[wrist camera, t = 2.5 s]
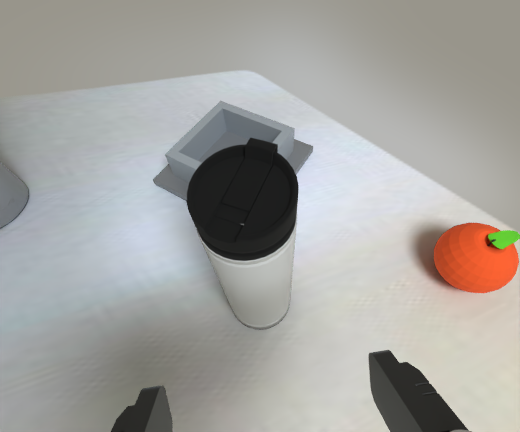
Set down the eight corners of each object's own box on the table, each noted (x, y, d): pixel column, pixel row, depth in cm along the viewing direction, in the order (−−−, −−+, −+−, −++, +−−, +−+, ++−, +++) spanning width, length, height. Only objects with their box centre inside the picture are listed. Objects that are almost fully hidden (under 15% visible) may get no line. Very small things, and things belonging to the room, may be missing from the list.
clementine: (469, 232, 36) (507, 196, 30) (514, 285, 32) (568, 256, 26) (409, 254, 35) (437, 221, 29) (450, 312, 31) (490, 288, 25)
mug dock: (155, 184, 43) (141, 159, 38) (222, 116, 50) (217, 88, 45) (252, 235, 37) (248, 213, 33) (312, 151, 44) (315, 124, 40)
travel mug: (298, 281, 34) (317, 150, 17) (277, 340, 31) (274, 250, 14) (246, 262, 36) (217, 125, 19) (221, 316, 32) (158, 210, 16)
